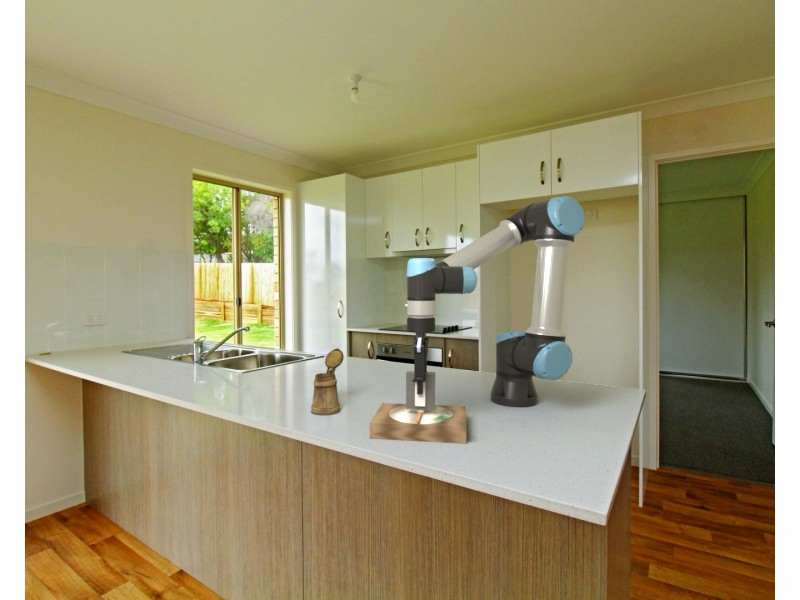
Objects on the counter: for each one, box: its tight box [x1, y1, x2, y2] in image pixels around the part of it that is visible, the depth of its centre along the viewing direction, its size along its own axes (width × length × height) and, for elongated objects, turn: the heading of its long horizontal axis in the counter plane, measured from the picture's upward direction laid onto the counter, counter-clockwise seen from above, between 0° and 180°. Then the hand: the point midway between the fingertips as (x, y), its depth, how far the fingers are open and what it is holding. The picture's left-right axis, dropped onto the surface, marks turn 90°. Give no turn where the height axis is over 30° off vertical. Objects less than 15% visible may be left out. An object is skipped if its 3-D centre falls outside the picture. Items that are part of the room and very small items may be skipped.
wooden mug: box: [310, 348, 345, 416], centre depth 134 cm, size 9×14×18 cm, turn 163°
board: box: [369, 402, 467, 444], centre depth 116 cm, size 24×18×4 cm
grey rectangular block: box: [405, 370, 436, 422], centre depth 112 cm, size 8×10×11 cm
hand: (420, 404), depth 116 cm, fingers closed on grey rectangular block, 2 cm apart
